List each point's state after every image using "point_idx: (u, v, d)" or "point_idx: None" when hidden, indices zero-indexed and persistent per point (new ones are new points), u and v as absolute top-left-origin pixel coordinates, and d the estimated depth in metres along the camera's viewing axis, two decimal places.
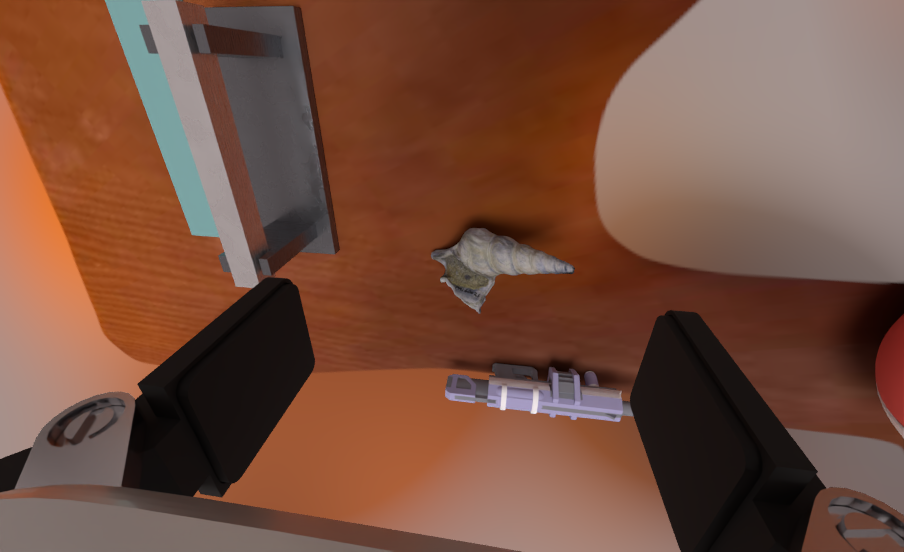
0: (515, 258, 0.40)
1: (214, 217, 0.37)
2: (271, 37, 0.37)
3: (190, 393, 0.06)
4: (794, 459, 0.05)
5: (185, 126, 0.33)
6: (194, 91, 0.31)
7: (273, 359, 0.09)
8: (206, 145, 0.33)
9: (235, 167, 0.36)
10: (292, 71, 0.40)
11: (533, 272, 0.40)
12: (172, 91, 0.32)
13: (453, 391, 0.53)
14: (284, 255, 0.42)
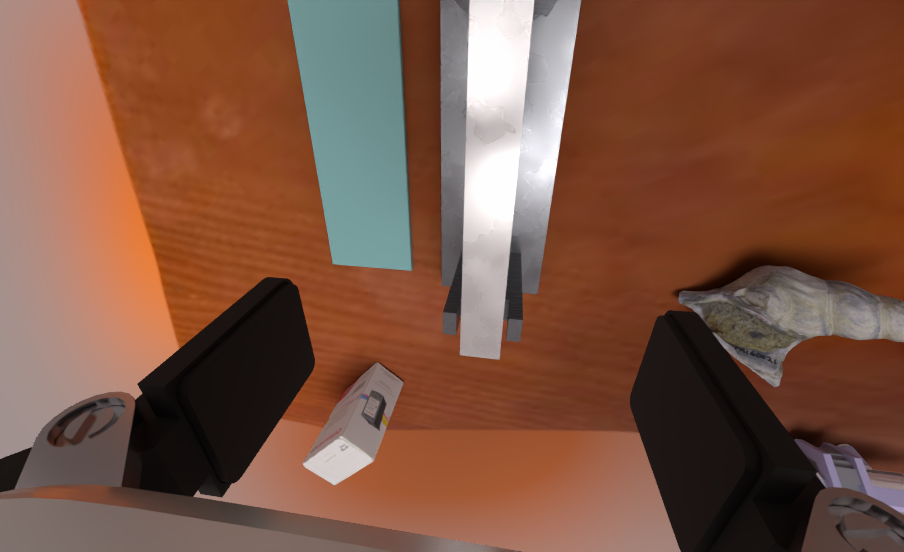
0: (887, 319, 0.27)
1: (465, 260, 0.24)
2: None
3: (190, 393, 0.06)
4: (794, 459, 0.05)
5: (470, 117, 0.20)
6: (513, 56, 0.18)
7: (273, 359, 0.09)
8: (497, 149, 0.20)
9: None
10: (556, 37, 0.27)
11: None
12: (470, 56, 0.18)
13: None
14: None
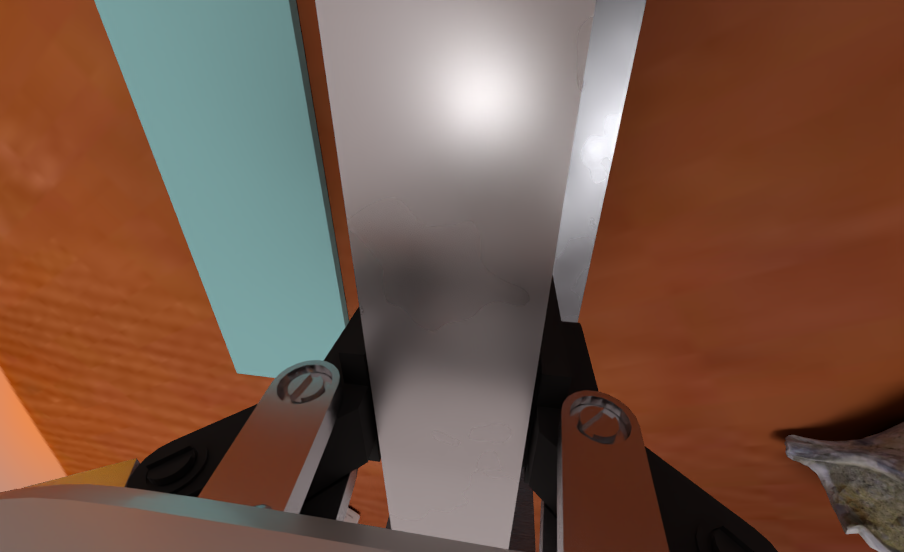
0: None
1: None
2: None
3: None
4: (559, 369, 0.06)
5: (366, 252, 0.06)
6: (520, 21, 0.04)
7: None
8: (466, 343, 0.06)
9: None
10: (603, 6, 0.13)
11: None
12: (330, 26, 0.04)
13: None
14: None
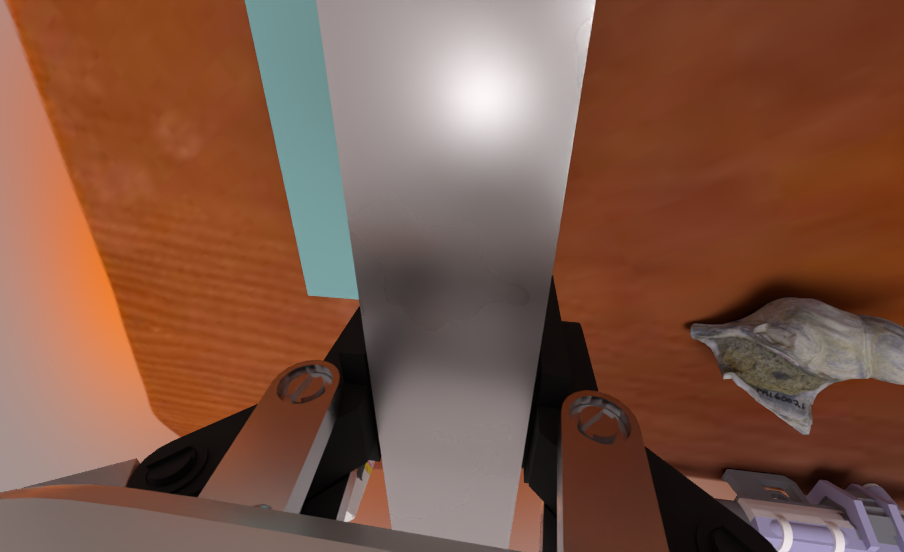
0: None
1: None
2: None
3: None
4: (559, 369, 0.06)
5: (366, 252, 0.06)
6: (519, 23, 0.04)
7: None
8: (466, 342, 0.06)
9: None
10: None
11: None
12: (331, 27, 0.04)
13: None
14: None
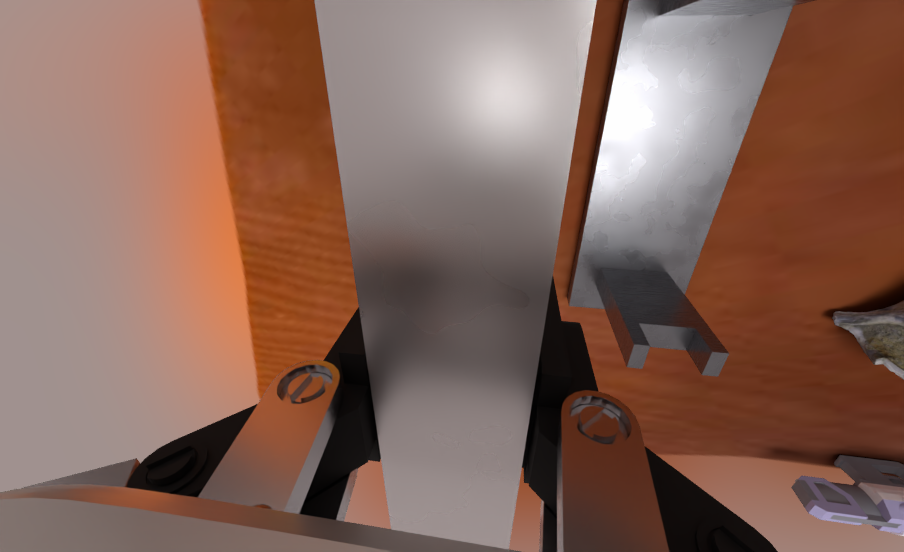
0: None
1: None
2: None
3: None
4: (559, 369, 0.06)
5: (366, 255, 0.06)
6: (519, 24, 0.04)
7: None
8: (466, 346, 0.06)
9: None
10: (757, 38, 0.24)
11: None
12: (330, 30, 0.04)
13: (830, 508, 0.37)
14: None
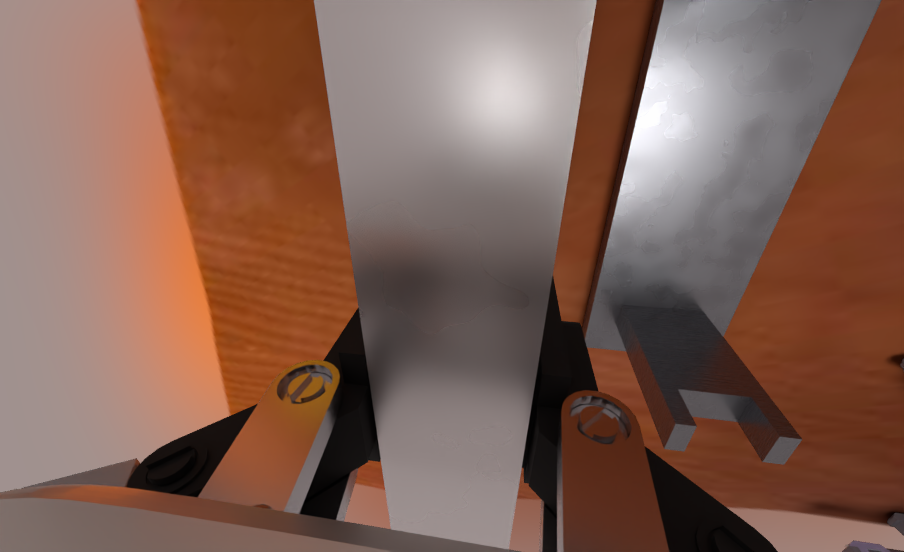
0: None
1: None
2: None
3: None
4: (559, 370, 0.06)
5: (366, 255, 0.06)
6: (519, 24, 0.04)
7: None
8: (465, 346, 0.06)
9: None
10: (838, 25, 0.18)
11: None
12: (329, 30, 0.04)
13: None
14: None
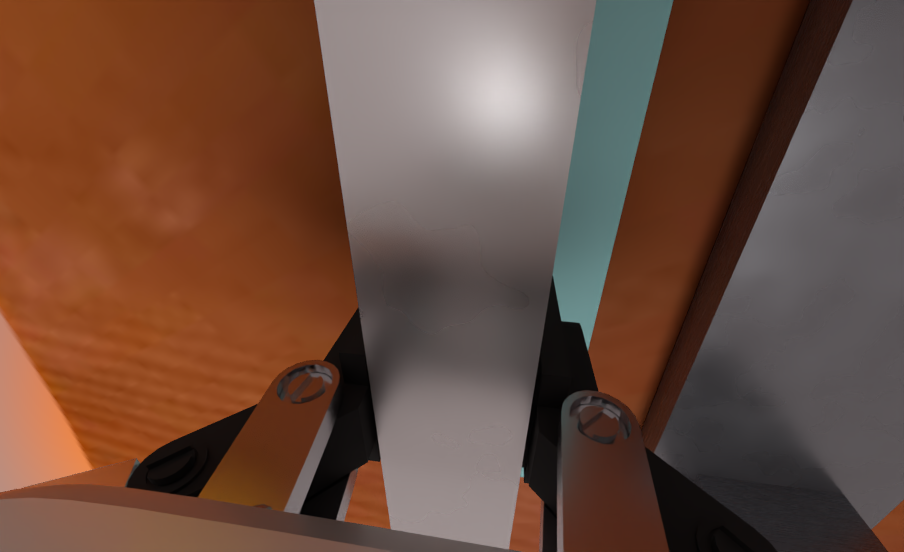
0: None
1: None
2: None
3: None
4: (559, 370, 0.06)
5: (365, 255, 0.06)
6: (519, 25, 0.04)
7: None
8: (465, 346, 0.06)
9: None
10: None
11: None
12: (329, 31, 0.04)
13: None
14: None
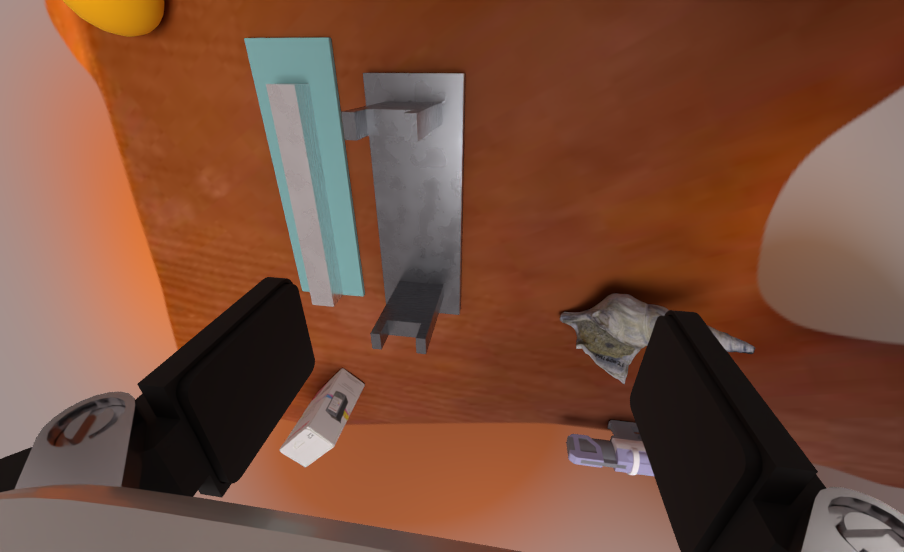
0: None
1: (302, 248, 0.45)
2: (439, 106, 0.35)
3: (190, 393, 0.06)
4: (794, 459, 0.05)
5: (287, 177, 0.40)
6: (299, 151, 0.39)
7: (273, 359, 0.09)
8: (303, 192, 0.41)
9: (322, 208, 0.43)
10: (449, 137, 0.38)
11: None
12: (281, 151, 0.39)
13: (579, 455, 0.50)
14: (431, 328, 0.40)
